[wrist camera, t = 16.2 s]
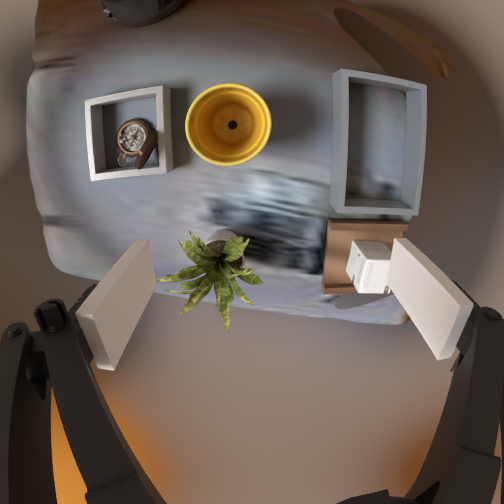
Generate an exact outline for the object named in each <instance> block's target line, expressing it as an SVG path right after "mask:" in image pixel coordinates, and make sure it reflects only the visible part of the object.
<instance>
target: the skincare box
mask: <svg viewBox="0 0 504 504" xmlns="http://www.w3.org/2000/svg"><path fill="white" fill-rule="evenodd" d="M391 254H392V252H391V251H390V250H389V248H388V247H387V246H386V245H385V244H384V243H383V242H374V241H360V240H353V241H352V246H351V251H350V256H349V260H348V264H347V267H346V272H347V274H348V276H349V277H350V279H351V281H352V283H353V284H354V286H355V288H356V290H357V292H358V293H390V291H391V289H390V287H389V286H388V285H387V283H386V279H387V274H388V269H389V264H390V259H391Z"/></svg>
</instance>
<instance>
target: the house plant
mask: <svg viewBox="0 0 504 504" xmlns="http://www.w3.org/2000/svg"><path fill="white" fill-rule="evenodd" d="M189 232H190V231H189ZM190 235H191V238H192V240H193V242H194V243H195V244H196V245H195V244H194V243H192V242H191V241H189V240H187V239H186V246H185V245H184V244H183V243H182V242H181V241H179V240H178V241H179V243H180V245H181V247H182V249H183V251H184V252H185V254H186V255H187V256H188V257H189V258H190V259H191V260H192V261H193V262H194V263H196V264H198V265H196V266H191V267H187V268H184V269H182V270H181V271H179V272H178V273H176V275H167V276H168V277H167V278H160V279H157V280H156V281H161V282H177V281H182V280H187V279H192V278H195V277H198V276H199V275H201V274H205V275H204V276H202V277H200V278H198V279H196V280H193V281H189V282H184V283H182V284H180V286H181V287H182V288H183V289H186V290H192V289H194V288H196V287H197V288H196V289H195V290H194V291H168V292H175V293H180V294H191V295H190V297H189V300H188V302H187V304H186V305H185V306H184V307H183V309H182V311H181V313H180V314H183V313H185V312H187V311H189V310H190V309H192V308H193V307H194V306H196V305H197V303H199V302H200V301H201V300H202V298H204V297H205V296H206V295H207V294H208V293H209V291H210V290H211V287H212V285H213V283H214V290H215V294H216V300H217V305H218V306H219V312H220V314H221V316H222V318H223V322H224V326H225V328H226V329H227V331H229V323H230V303H231V302H232V300H233V298H234V293H233V290H234V292H235V293H236V295H237V296H238V297H239V298H240V299H242V300H243V301H244V302H246V303H248V304H251V305H254V304H253V303H252V301H250V300H249V299H248V298H247V296H246V294H245V293H244V292H243V291H242V290H241V289H240V287H239V286H238V284H237V282H236V280H235V277H236V276H237V277H239V278H240V279H242V280H243V281H245V282H247V283H249V284H253V285H255V284H261V283H263V282H262V281H261V279H260V278H259V277H258V276H256V275H254V274H251V273H252V272H253V271H254V269H245V268H243V267H244V262H245V258H244V254H243V251H244V249H245V247H246V246H247V244H248V241H249V238H248V239H247V240H246V241H245V242H244V243H243V240H244V238H243V239H242V237H243V236H242V237H237V235H236V234H235V233H233V232H232V231H229V230H218V231H216V232H215V233H214V234H212V235H211V236H210V238H209V239H208V240H207V241H206V242H205V243H203V241H202V240H201V239H200V238H199V237H198V238H199V240H198V239H197V238H196V237H195V236H194V235H193V233H191V232H190ZM199 248H200V249H199ZM165 276H166V275H165ZM232 288H233V290H232ZM217 305H216V306H217Z"/></svg>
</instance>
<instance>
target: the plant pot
mask: <svg viewBox="0 0 504 504" xmlns="http://www.w3.org/2000/svg"><path fill="white" fill-rule="evenodd" d="M231 121H235V122H236V123H237V126H236V128H235V129H230V128H229V126H228V124H229V122H231ZM271 128H272V119H271V113H270V110H269V108H268V106H267V104H266V102H265V101H264V99H263V98H262V97H261V96H260V95H259V94H258V93H257V92H255V91H254V90H252V89H251V88H249V87H247V86H244V85H241V84H235V83H224V84H219V85H215V86H213V87H210V88H208V89H207V90H205V91H203V92H202V93H201V94H200V95H199V96H198V97H197V98H196V99H195V100H194V101H193V103H192V104H191V106H190V108H189V110H188V113H187V116H186V122H185V131H186V136H187V139H188V142H189V144H190V145H191V147H192V149H193V150H194V151H195V152H196V153H197V154H198V155H199V156H200V157H201V158H203V159H204V160H206V161H208V162H210V163H212V164H216V165H220V166H234V165H239V164H242V163H245V162H247V161H249V160H251V159H252V158H254V157H255V156H256V155H257V154H259V153H260V151H261V150H262V149H263V148H264V147H265V145H266V143H267V141H268V139H269V137H270V133H271Z"/></svg>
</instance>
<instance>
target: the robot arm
mask: <svg viewBox="0 0 504 504" xmlns="http://www.w3.org/2000/svg"><path fill="white" fill-rule="evenodd" d="M98 1H99V4H100V6H101V9H102V11H103V13H104V14H105V15H106V17H107V18H109V19H110V20H111V21H113V22H115V23H116V24H118V25H121V26H125V27H141V26H146V25H149V24H152V23H155V22H157V21H159V20H161V19H163V18H165V17H166V16H168V15H169V14H171V13H172V12H173V11H175V10H176V9H177V8H178V7H179V6H180V5H181V3H182V2H183V1H184V0H98ZM386 283H387V285H388V286H389V287H390V289H391V290H392V291H393V293H394V294H395V296H396V297H397V299H398V300H399V302H400V303H401V304H402V306H403V307H404V309H405V310H406V312H407V313H408V315H409V316H410V318H411V319H412V321H413V322H414V324H415V325H416V327H417V328H418V330H419V331H420V333H421V334H422V336H423V338H424V339H425V340H426V342H427V344H428V345H429V347H430V349H431V350H432V352H433V353H434V355H435V357H436V358H437V360H441V359H445V358H450V357H451V356H452V354H453V352H454V350H455V347H457V348H458V349H459V351H460V353H459V355H458V357H457V359H456V361H455V363H454V365H453V367H452V368H451V370H450V371H451V372H452V371H453V370H454V373H453V377H452V381H451V385H450V388H449V392H448V396H447V399H446V402H445V406H444V409H443V412H442V415H441V418H440V421H439V424H438V427H437V430H436V433H435V436H434V438H433V441H432V443H431V446H430V449H429V451H428V454H427V456H426V458H425V461H424V463H423V465H422V467H421V470H420V472H419V474H418V476H417V478H416V480H415V482H414V484H413V486H412V487H411V489H410V490H409V491H408V492H407V494H406V495H405V496H404V498H403V497H393V496H389V492H388V490H387V489H386V490H382V491H378V492H374V493H370V494H366V495H361V496H356V497H351V498H349V499H346V500H344V501H342V502H339V503H337V504H491V502H492V499H493V495H494V492H495V489H496V485H497V481H498V477H499V473H500V468H501V459H500V457H497V456H494V450H495V445H496V440H497V434H498V428H499V421H500V428H501V444H502V483H501V504H504V319H503V318H502V316H501V315H500V313H498V312H497V311H496V310H494V309H492V308H489V307H482V308H481V307H480V306H479V305H478V304H477V303H476V302H475V301H474V300H473V299H472V298H471V297H470V296H469V295H468V294H467V293H466V292H465V291H464V290H462V288H461V287H460V286H459V285H458V284H457V283H456V282H455V281H453V280H451V279H450V278H448V277H447V276H446V275H445V274H444V273H443V272H442V271H441V270H440V269H439V268H438V267H437V266H436V265H435V264H434V263H432V262H431V260H429V259H428V258H427V257H426V256H425V255H424V254H423V253H422V252H421V251H420V250H419V249H418V248H416V247H415V246H414V245H413V244H412V243H411V242H410V241H409V240H407V239H406V238H394V243H393V249H392V254H391V259H390V264H389V269H388V274H387V279H386ZM155 288H156V280H155V275H154V269H153V264H152V258H151V252H150V245H149V240H136V241H135V242H134V243H133V244H132V245H131V246H130V247H129V248H128V250H127V251H126V252H125V253H124V254H123V255H122V256H121V258H120V259H119V260H118V261H117V262H116V263H115V265H114V266H113V267H112V268H111V269H110V270H109V272H108V273H107V274H106V275H105V276H104V278H103V279H102V280H101V281H100V282H99V284H94V285H92V286H91V287H89V288H88V289H86V291H85V292H84V293H83V294H82V295H81V297H80V298H79V299H78V300H77V302H76V303H75V304H74V305H73V306H72V308H71V309H70V310H69V311H68V313H67V310H66V307H65V305H64V302H63V301H62V300H60V299H50V300H47V301H45V302H43V303H41V304H40V305H39V306H37V308H36V309H35V311H34V315H35V318H36V320H37V322H38V324H39V327H40V329H41V331H35V332H30V330H29V328H28V326H27V325H26V323H23V322H18V323H13V324H11V325H10V326H8V328H7V329H5V331H4V332H3V335H2V337H1V341H0V504H57V498H56V491H55V483H54V476H53V464H52V448H51V388H53V392H54V396H55V400H56V404H57V408H58V411H59V414H60V418H61V421H62V424H63V428H64V431H65V434H66V436H67V439H68V442H69V445H70V448H71V451H72V453H73V456H74V458H75V461H76V463H77V466H78V468H79V471H80V473H81V475H82V478H83V480H84V482H85V484H86V487H87V491H88V492H87V493H86V494H85V499H86V501H87V504H167V503H166V502H165V500H164V499H163V498H162V496H161V495H160V493H159V492H158V491H157V489H156V488H155V486H154V485H153V484H152V482H151V480H150V479H149V477H148V476H147V474H146V473H145V471H144V470H143V468H142V467H141V465H140V463H139V462H138V460H137V459H136V457H135V455H134V453H133V452H132V450H131V448H130V446H129V445H128V443H127V441H126V440H125V438H124V436H123V434H122V432H121V430H120V428H119V427H118V424H117V423H116V421H115V419H114V417H113V415H112V413H111V411H110V409H109V406H108V404H107V402H106V400H105V398H104V396H103V394H102V392H101V389H100V387H99V385H98V382H97V380H96V378H95V375H94V373H93V370H92V368H91V366H90V363H91V361H92V359H93V358H94V360H95V362H96V364H97V367H98V368H101V369H108V370H115V368H116V366H117V363H118V361H119V359H120V357H121V355H122V353H123V351H124V349H125V347H126V344H127V342H128V340H129V338H130V336H131V334H132V332H133V330H134V328H135V326H136V324H137V322H138V320H139V318H140V316H141V314H142V312H143V310H144V308H145V307H146V305H147V303H148V301H149V299H150V297H151V295H152V293H153V291H154V289H155Z"/></svg>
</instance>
